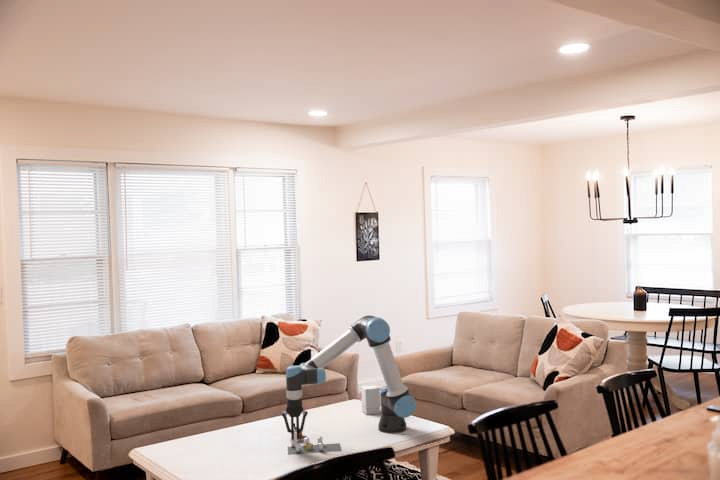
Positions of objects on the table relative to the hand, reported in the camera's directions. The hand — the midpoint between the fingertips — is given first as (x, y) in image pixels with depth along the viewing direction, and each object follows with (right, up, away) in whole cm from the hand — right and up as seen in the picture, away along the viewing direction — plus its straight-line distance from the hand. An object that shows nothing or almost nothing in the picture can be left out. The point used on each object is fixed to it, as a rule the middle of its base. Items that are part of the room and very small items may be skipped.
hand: (295, 446), depth 324 cm
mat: (+9, -2, +1) cm, 10 cm away
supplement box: (+38, -1, +66) cm, 76 cm away
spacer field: (+6, -2, +1) cm, 6 cm away
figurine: (0, -3, +19) cm, 19 cm away
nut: (+6, -2, +1) cm, 7 cm away
